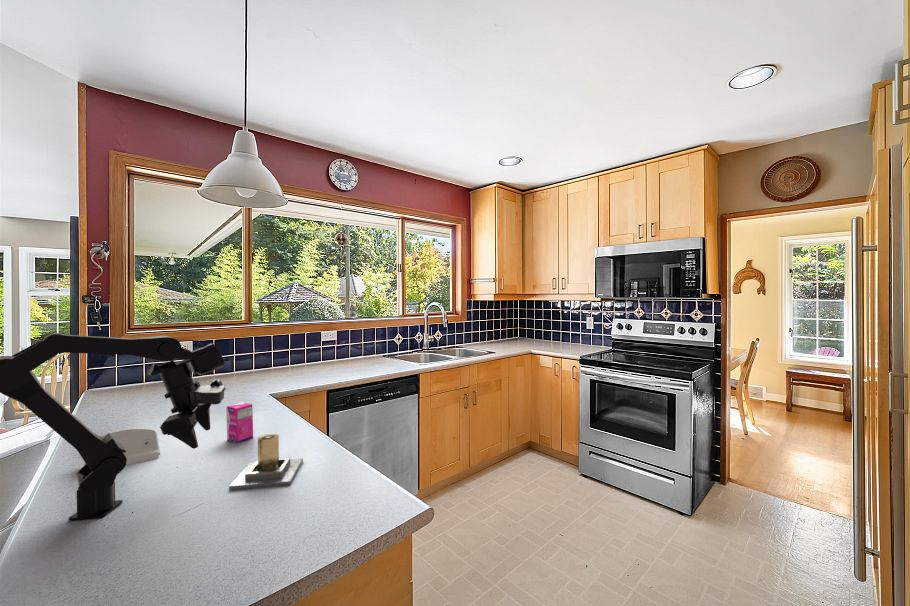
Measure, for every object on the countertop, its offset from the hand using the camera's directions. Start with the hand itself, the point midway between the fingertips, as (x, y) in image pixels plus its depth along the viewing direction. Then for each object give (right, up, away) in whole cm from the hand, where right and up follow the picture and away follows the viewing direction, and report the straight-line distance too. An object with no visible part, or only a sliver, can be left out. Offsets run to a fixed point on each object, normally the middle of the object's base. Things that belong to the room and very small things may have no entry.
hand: (202, 438), depth 99 cm
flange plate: (+16, -10, +2) cm, 19 cm away
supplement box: (-6, -11, +29) cm, 31 cm away
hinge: (-31, -11, +12) cm, 35 cm away
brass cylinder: (+16, -9, +2) cm, 19 cm away
